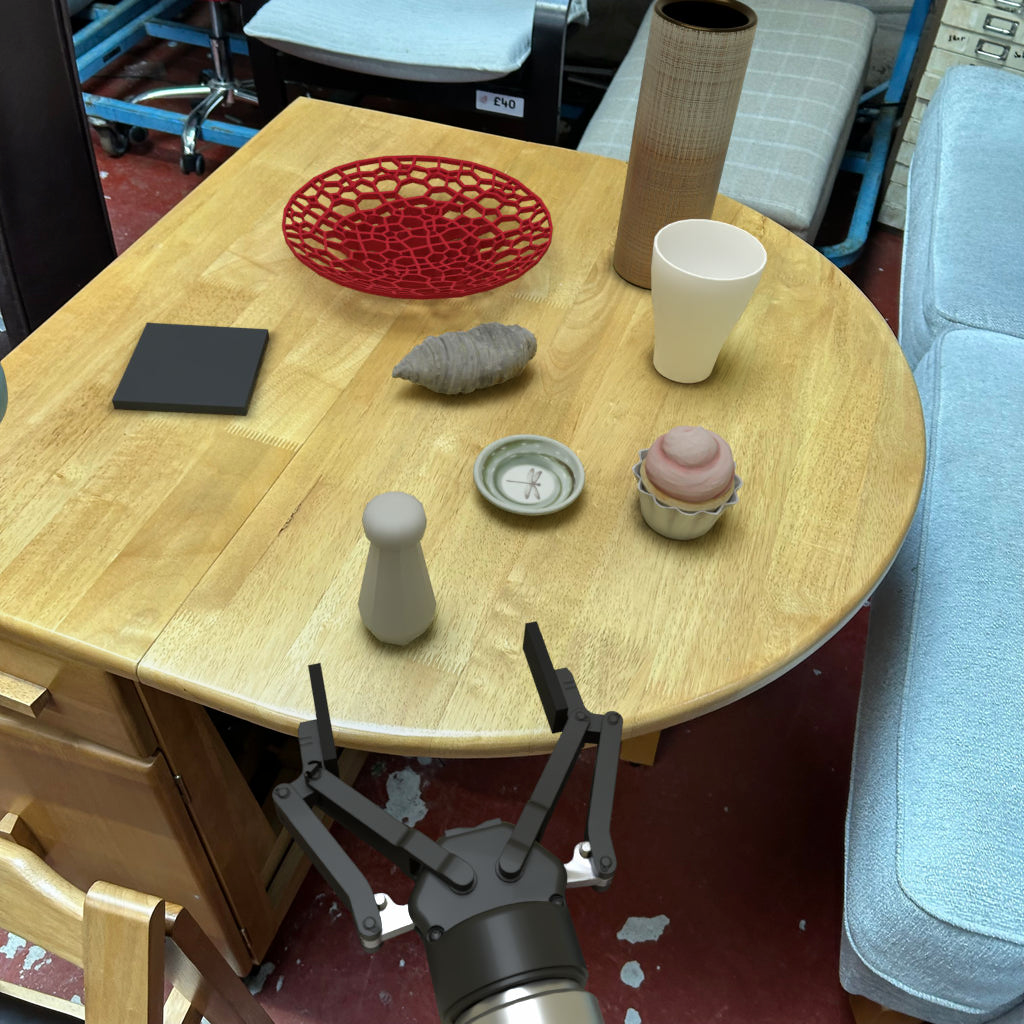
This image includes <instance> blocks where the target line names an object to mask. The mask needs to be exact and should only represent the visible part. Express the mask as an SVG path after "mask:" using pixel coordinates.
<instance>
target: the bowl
mask: <svg viewBox="0 0 1024 1024" xmlns="http://www.w3.org/2000/svg"><path fill="white" fill-rule="evenodd" d="M403 162H404V163H403ZM405 162H407V163H405ZM409 162H410V163H409ZM417 162H419V163H421V162H423V163H436V164H437V165H436V166H433V167H425V166H421V165H419V164H417ZM382 163H391V164H393V165H394V166H396V167H397V168H396V169H389V168H386V167H384V166H382V165H383V164H382ZM376 164H377V165H378V167H377V168H375V169H373V170H361V167H365V166H371V165H376ZM442 164H445V165H452V166H457V167H459V168H458V169H450V170H448V169H446V168H443V167H441V165H442ZM464 168H465V169H464ZM466 168H469V169H466ZM353 169H356V171H354V172H350V173H345V172H346V171H349V170H353ZM475 170H477V171H480V172H483V173H486V174H489V175H492V177H491V178H487V177H481V176H480V175H478V173H476V171H475ZM413 172H417V173H423V174H425V176H424V177H423V178H419V177H414V176H412V175H411V174H412V173H413ZM335 175H338V176H339V177H340V178H339V180H326V179H328V178H330V177H332V176H335ZM399 177H406V178H402V179H400V178H399ZM461 177H471V178H472V179H473V180H474V181H475V182H476V183H475V184H465V183H464V182H463V180H461ZM496 177H497V178H499V179H500V180H497V179H496ZM366 178H373V180H369V179H366ZM436 179H439V180H440V181H443V182H444V185H431V183H430V181H431V180H436ZM501 180H503V181H501ZM384 181H393V182H395V183H396V186H395V187H394V189H393V190H384V191H382V190H380V189H379V188H378V186H377V185H378V184H379V183H380V182H384ZM504 181H505V182H504ZM318 183H319V184H320V186H319V185H318ZM345 183H346V184H347V185H345V186H344V184H345ZM451 183H455V184H457V186H458V187H459V188H460V189H459V190H458V191H457V190H456V189H454V188H452V187H450V186H449V184H451ZM410 184H414V185H415V184H416V185H420V186H424V188H426V191H425V192H424V193H423V194H422V195H416V196H409V197H404V196H402V195H401V194H399V193H400V191H401V189H402V188H403V187H404V186H408V185H410ZM361 185H362V186H364V187H367V188H370V189H372V191H363V192H362V191H361V190H360V189H358V187H360V186H361ZM481 185H483V186H491V187H489V188H487V189H484V188H482V187H481ZM328 188H329V189H330V188H331V189H332V188H338V190H337V191H336V192H329V191H327V190H325V189H328ZM310 189H313V190H315V191H316V194H312V195H311V194H310V195H306V194H305V193H306V192H308V191H309V190H310ZM505 191H509V192H505ZM517 191H522V192H523V193H524V194H526V195H522V194H520V193H519V194H518V193H517ZM465 192H467V193H468V192H475V193H477V194H478V195H476V196H474V197H473V198H472V197H469V196H467V195H465ZM344 193H345V194H346V193H353V194H354V195H355V196H356V197H355V199H353V198H347V197H342V195H343V194H344ZM444 193H445V194H447V195H448V196H450V199H449V200H436V199H434V198H432V197H431V196H432V195H436V194H444ZM321 196H323V197H325V198H327V199H328V200H329V201H330V204H329V206H328V207H327V206H325V205H324V204H323V203H321V202H319V199H320V197H321ZM298 199H300V200H303V201H306V202H307V204H306V205H304V204H302V202H300V201H299V200H298ZM484 199H490V200H494V201H496V202H497V203H499V204H498V205H497V206H496V207H484V206H483V205H482V204H480V203H481V202H482V201H483V200H484ZM363 201H379V203H380V204H379V205H377V206H376V207H374V208H367V209H366V208H365V209H361V208H360V207H359V205H360V204H361V203H362V202H363ZM530 201H534V202H535V203H534V204H533V205H528V206H526V205H525V206H521V203H524V202H530ZM458 202H460V203H461V204H460V203H458ZM421 205H424V206H423V207H422V206H421ZM292 206H295V207H297V208H298V209H299V210H300V211H296V210H295V209H294V208H293V207H292ZM340 206H345V207H349V208H353V210H354V211H353V212H351V213H349V214H347V215H343V214H342V213H339V212H337V211H335V210H334V208H336V207H340ZM504 207H512V208H515V210H517V211H516V212H515V213H513V214H503V213H502V211H501V210H502V209H503V208H504ZM312 209H317V210H321V211H322V212H323V213H322V214H321V215H320V214H318V213H317V212H316V211H314V210H312ZM471 209H472V210H474V211H476V212H477V213H479V214H480V215H481V216H475V217H470V216H467V215H466V214H465V213H466V212H467V211H469V210H471ZM301 211H302V212H301ZM449 212H454V213H459V215H458V216H456V217H455V218H453V219H452V218H449V217H446V214H448V213H449ZM386 213H388V214H389V215H385V214H386ZM529 213H531V215H530V216H529V217H528V218H524V219H522V218H521V217H520V215H522V214H529ZM541 214H544V216H542V218H541V219H540V220H536V221H534V220H535V218H537V216H538V215H541ZM307 215H308V216H310V217H311V218H313V219H314V220H316V221H315V222H314V223H312V222H310V221H308V220H305V219H306V216H307ZM383 215H385V216H383ZM487 216H496V218H495V219H494V220H492V221H491V220H489V219H488V218H487ZM287 218H288V219H290V221H291V223H287ZM294 218H299V219H300V220H301V221H300V222H298V221H296V220H295V219H294ZM329 218H332V219H333V220H335V221H333V220H331V219H329ZM533 221H534V222H533ZM546 221H547V225H548V226H546V227H544V226H542V225H543V224H544V223H545V222H546ZM510 222H511V223H512V222H516V223H517V224H519V225H518V227H517V228H512V229H508V230H504V231H503V229H501V228H499V226H500V225H501V224H502V223H510ZM323 225H324V226H326V227H328V228H329V229H331V230H323V229H322V228H321V227H322V226H323ZM345 227H347V228H348V229H347V228H345ZM306 228H308V229H309V230H306ZM528 231H529V232H528ZM281 232H282V235H283V237H284V238H283V239H284V241H285V244H286V245H287V247H288V249H289V250H290V251H291V253H292V254H293V256H294V257H295V259H297V261H299V262H300V263H301V264H302V265H304V267H306V268H308V269H309V270H311V271H312V272H313V273H314V274H316V275H317V276H319V277H321V278H322V279H323V278H324V279H325V280H328V281H330V282H332V283H334V284H335V285H338V286H340V287H344V288H347V289H351V290H354V291H356V292H360V293H363V294H367V295H374V296H378V297H384V298H389V299H399V300H414V301H415V300H417V301H418V300H419V301H428V300H442V299H445V300H446V299H457V298H464V297H468V296H473V295H476V294H477V295H478V294H481V293H485V292H489V291H492V290H493V291H494V290H495V289H497V288H500V287H502V286H504V285H507V284H510V283H512V282H515V281H517V280H519V279H520V278H522V277H523V276H524V275H525V274H527V273H528V272H529V271H531V270H532V269H534V267H536V266H537V265H539V263H540V261H542V259H543V258H544V257H545V255H546V254H547V252H548V250H549V248H550V246H551V244H552V239H553V232H554V225H553V220H552V216H551V212H550V210H549V208H548V207H547V206H546V204H545V202H544V201H543V199H542V198H541V197H540V196H538V194H537V193H535V192H534V191H532V190H531V188H529V187H528V186H526V185H525V184H524V183H523V182H521V181H520V180H519V179H518V178H515V177H513V176H511V175H509V174H507V173H505V172H503V171H500V170H499V169H496V168H493V167H490V166H487V165H485V164H481V163H478V162H475V161H471V160H465V159H458V158H453V157H447V156H439V155H425V154H423V155H422V154H405V155H404V154H399V155H398V154H397V155H381V156H375V157H370V158H364V159H357V160H354V161H351V162H347V163H344V164H340V165H337V166H334V167H332V168H330V169H327V170H326V171H324V172H321V173H319V174H317V175H315V176H313V177H312V178H311V179H309V180H307V182H306V183H305V184H303V185H302V186H301V187H299V188H298V189H297V190H295V192H294V193H293V194H291V196H290V197H289V199H288V201H287V203H286V204H285V206H284V208H283V212H282V219H281ZM537 232H539V233H537ZM489 233H491V234H492V235H494V236H493V237H487V238H480V237H482V236H483V235H487V234H489ZM515 236H517V237H516V238H514V239H510V238H513V237H515ZM334 238H335V239H337V240H339V241H341V242H338V241H334V240H330V239H334ZM292 239H294V240H299V242H296V241H294V240H292ZM310 239H311V240H312V241H314V242H316V243H317V244H320V245H322V246H323V248H319V247H318V248H317V247H313V246H312V245H310V244H309V243H306V241H305V240H310ZM541 239H548V240H546V241H544V242H542V243H540V244H537V243H536V244H535V243H533V242H535V241H539V240H541ZM522 242H526V243H527V242H528V245H526V246H524V247H521V248H517V247H515V246H518V245H520V243H522ZM504 247H506V249H504V250H501V251H499V252H498V250H500V249H501V248H504ZM296 249H298V250H299V251H300V252H302V253H300V252H297V250H296ZM328 249H331V250H334V251H337V252H340V253H342V255H344V256H345V257H347V258H341V259H340V258H339V257H338V256H336V255H335V254H334V253H332V252H331V251H329V250H328ZM483 249H487V250H484V251H481V250H483ZM528 251H533V252H532V253H529V254H527V255H524V254H525V253H527V252H528ZM522 255H524V256H522ZM509 256H514V257H513V258H512V259H511V260H507V261H503V262H499V263H497V262H498V261H500V260H502V259H504V258H507V257H509ZM535 258H536V259H535ZM313 259H315V260H318V261H320V262H321V263H323V264H320V263H318V262H316V261H315V260H313ZM339 268H340V269H339Z"/></svg>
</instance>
